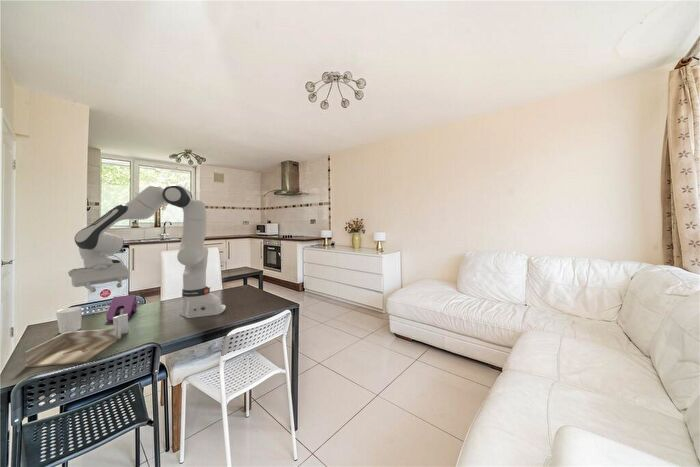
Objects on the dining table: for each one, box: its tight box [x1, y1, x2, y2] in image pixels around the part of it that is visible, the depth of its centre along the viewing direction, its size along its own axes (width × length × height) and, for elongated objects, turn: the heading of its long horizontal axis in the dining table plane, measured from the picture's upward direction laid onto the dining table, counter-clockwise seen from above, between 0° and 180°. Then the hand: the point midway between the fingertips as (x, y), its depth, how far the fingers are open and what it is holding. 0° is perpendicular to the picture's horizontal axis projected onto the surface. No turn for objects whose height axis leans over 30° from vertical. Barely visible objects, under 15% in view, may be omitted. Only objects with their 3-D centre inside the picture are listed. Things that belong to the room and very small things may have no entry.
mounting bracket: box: [105, 294, 138, 324], centre depth 135 cm, size 10×8×18 cm
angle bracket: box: [112, 314, 129, 340], centre depth 112 cm, size 5×5×9 cm
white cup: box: [55, 306, 83, 334], centre depth 117 cm, size 8×8×10 cm
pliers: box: [89, 305, 110, 315], centre depth 145 cm, size 10×2×15 cm
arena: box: [23, 328, 117, 368], centre depth 98 cm, size 18×16×6 cm
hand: (107, 289), depth 118 cm, fingers open, 8 cm apart
